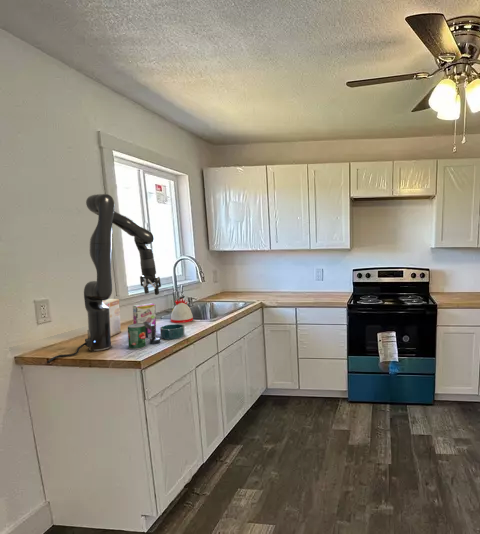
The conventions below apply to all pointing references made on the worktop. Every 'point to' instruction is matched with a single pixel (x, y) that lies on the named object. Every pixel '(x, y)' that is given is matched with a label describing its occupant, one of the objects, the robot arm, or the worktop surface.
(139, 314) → the candy bar box
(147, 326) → the dark elongated piece
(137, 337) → the canned tomato
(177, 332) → the bowl
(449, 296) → the worktop surface
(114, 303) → the coffeecake box
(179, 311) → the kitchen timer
